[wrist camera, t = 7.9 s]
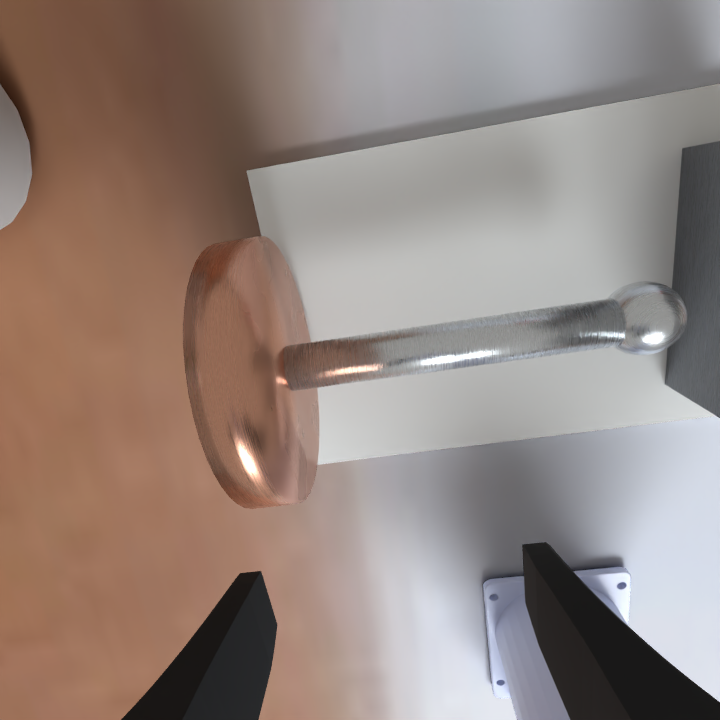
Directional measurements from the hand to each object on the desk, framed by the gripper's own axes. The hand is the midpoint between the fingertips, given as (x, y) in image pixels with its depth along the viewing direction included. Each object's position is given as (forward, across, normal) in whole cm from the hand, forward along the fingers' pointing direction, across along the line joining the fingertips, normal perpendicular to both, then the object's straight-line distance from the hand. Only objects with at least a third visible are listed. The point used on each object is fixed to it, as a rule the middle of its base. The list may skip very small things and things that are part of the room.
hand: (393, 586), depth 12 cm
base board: (+10, -9, -5) cm, 15 cm away
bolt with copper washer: (+9, -2, -5) cm, 11 cm away
